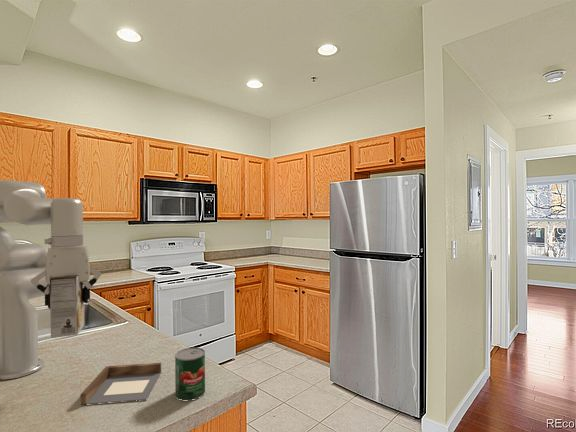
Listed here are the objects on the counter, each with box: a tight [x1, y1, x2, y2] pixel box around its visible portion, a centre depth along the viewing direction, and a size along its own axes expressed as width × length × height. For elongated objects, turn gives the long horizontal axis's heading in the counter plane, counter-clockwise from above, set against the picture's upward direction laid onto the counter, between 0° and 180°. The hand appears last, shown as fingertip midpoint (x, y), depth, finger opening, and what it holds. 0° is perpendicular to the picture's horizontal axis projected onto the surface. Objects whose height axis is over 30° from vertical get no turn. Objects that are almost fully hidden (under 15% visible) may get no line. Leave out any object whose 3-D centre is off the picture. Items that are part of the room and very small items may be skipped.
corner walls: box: [80, 362, 162, 406], centre depth 94 cm, size 16×16×3 cm
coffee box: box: [49, 275, 85, 339], centre depth 93 cm, size 9×6×16 cm
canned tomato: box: [174, 347, 206, 400], centre depth 91 cm, size 8×8×11 cm
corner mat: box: [85, 373, 161, 406], centre depth 94 cm, size 16×16×1 cm
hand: (68, 304), depth 93 cm, fingers closed on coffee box, 7 cm apart
